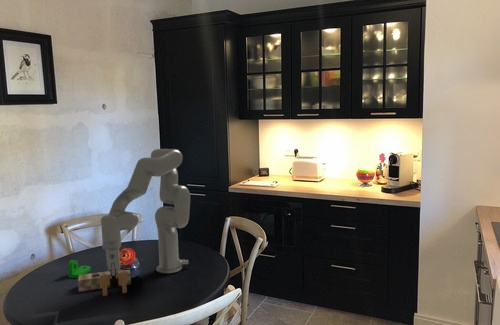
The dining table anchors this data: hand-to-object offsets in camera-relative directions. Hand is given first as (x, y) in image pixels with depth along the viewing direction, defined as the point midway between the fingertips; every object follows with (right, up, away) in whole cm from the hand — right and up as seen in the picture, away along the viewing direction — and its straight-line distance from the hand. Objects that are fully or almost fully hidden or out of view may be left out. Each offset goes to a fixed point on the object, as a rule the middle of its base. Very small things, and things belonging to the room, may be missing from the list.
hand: (114, 285), depth 179 cm
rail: (-7, -3, +10) cm, 12 cm away
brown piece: (0, -4, 0) cm, 4 cm away
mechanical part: (-24, -2, +25) cm, 35 cm away
